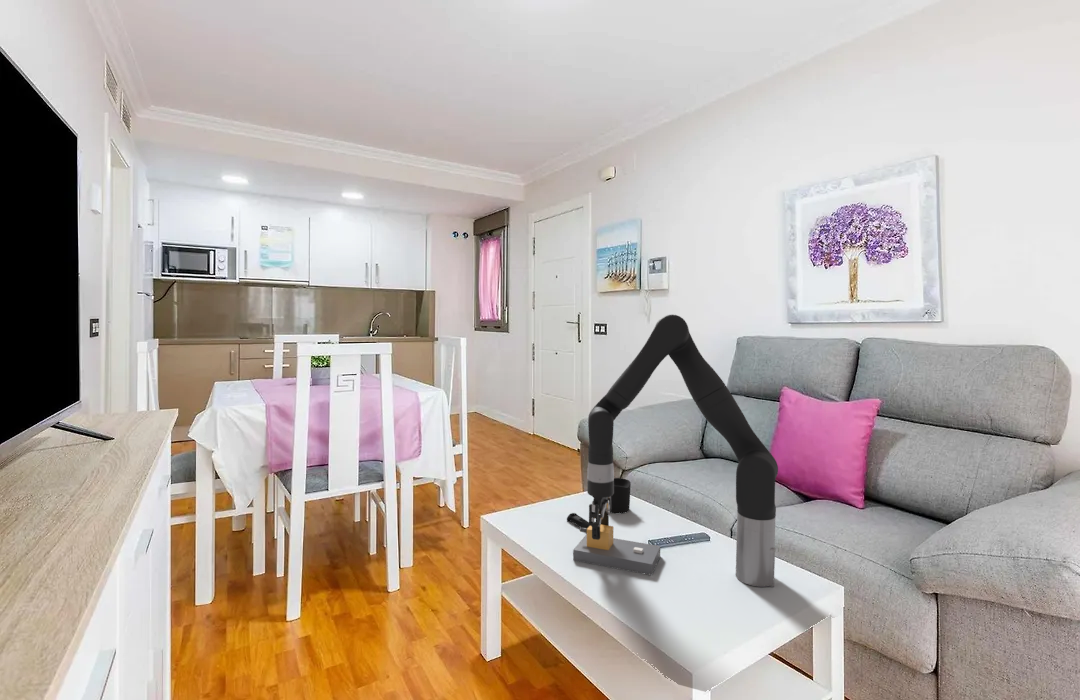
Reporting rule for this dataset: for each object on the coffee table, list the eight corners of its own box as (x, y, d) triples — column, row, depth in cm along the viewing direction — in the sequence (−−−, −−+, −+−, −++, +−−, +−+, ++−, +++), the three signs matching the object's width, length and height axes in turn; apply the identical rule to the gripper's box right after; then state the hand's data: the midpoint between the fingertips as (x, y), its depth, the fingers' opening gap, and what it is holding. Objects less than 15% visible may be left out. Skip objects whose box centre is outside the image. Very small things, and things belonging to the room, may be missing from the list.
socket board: (660, 556, 150) (660, 543, 149) (651, 575, 138) (651, 561, 138) (586, 543, 158) (586, 530, 158) (573, 560, 147) (573, 546, 147)
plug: (613, 553, 151) (613, 526, 151) (608, 560, 147) (608, 532, 146) (583, 547, 155) (583, 521, 155) (577, 554, 150) (577, 527, 150)
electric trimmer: (592, 539, 162) (592, 529, 162) (565, 521, 176) (565, 512, 176) (602, 536, 164) (602, 526, 164) (575, 519, 178) (575, 510, 178)
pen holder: (632, 514, 182) (632, 486, 181) (605, 514, 181) (605, 486, 181) (627, 504, 191) (627, 477, 190) (601, 504, 191) (602, 477, 190)
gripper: (606, 486, 141) (606, 545, 142) (619, 472, 154) (619, 526, 155) (579, 483, 144) (580, 540, 145) (595, 469, 157) (595, 522, 158)
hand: (600, 533), depth 150 cm, fingers open, 8 cm apart
